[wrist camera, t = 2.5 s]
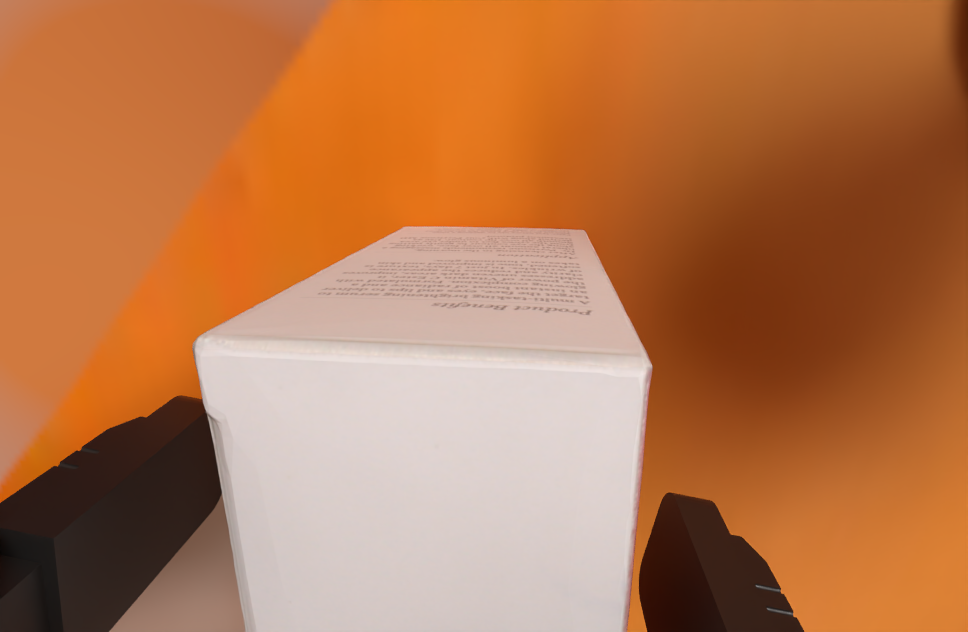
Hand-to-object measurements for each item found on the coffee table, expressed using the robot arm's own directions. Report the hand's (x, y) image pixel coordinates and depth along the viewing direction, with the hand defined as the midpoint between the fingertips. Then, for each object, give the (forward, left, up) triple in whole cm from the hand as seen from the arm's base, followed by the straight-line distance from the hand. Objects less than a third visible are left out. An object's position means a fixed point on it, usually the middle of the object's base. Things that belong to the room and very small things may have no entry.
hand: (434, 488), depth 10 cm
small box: (0, 0, -8) cm, 8 cm away
